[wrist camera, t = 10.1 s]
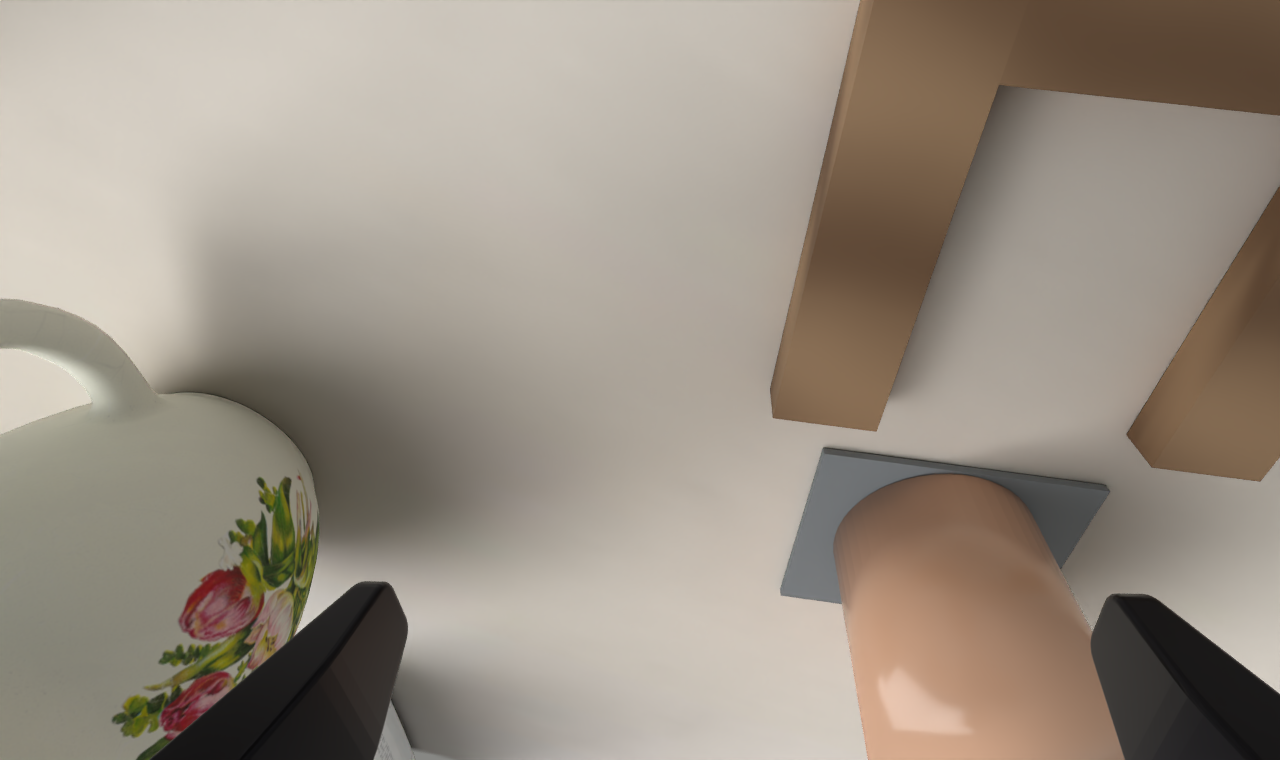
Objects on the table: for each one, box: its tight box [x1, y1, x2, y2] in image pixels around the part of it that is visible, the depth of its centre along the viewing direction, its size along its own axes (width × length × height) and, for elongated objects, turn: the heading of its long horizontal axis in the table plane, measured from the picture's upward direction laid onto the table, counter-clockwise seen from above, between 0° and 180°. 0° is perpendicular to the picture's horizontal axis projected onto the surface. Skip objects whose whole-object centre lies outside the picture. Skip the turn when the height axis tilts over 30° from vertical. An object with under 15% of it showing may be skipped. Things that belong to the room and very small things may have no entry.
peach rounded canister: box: [833, 474, 1124, 760], centre depth 21 cm, size 10×7×8 cm
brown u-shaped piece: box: [770, 0, 1280, 481], centre depth 17 cm, size 12×14×2 cm
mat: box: [780, 448, 1110, 604], centre depth 24 cm, size 7×9×1 cm
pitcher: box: [0, 299, 319, 760], centre depth 19 cm, size 11×18×14 cm, turn 175°
